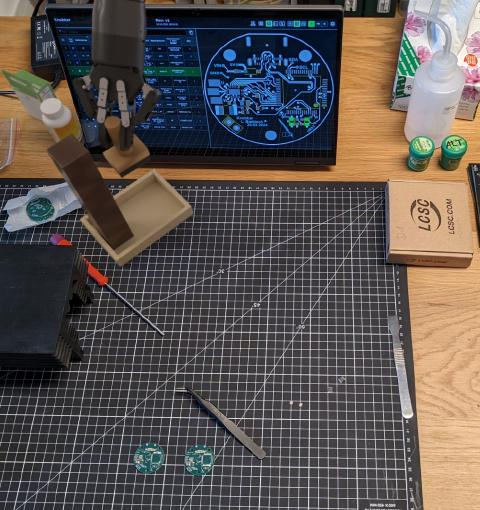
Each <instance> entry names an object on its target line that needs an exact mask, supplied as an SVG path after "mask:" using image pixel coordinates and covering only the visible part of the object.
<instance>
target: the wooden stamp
mask: <svg viewBox="0 0 480 510" xmlns="http://www.w3.org/2000/svg"><path fill="white" fill-rule="evenodd" d="M104 124H105V127H106V129H107V131H108V133H109V135H110V137H111V139H112V144H113V146H111V147H109V148H107V150H105V151H103V152H102V154H103V157H104V158H105V159H106V161H107V162H108V163H109V165H110V166H111V167H112V169H113V170H114V171H115V172H116V173H117V174H118V175H119V176H120V178H121V179H123V178H124V177H126V176H127V175H129V174H130V173H133V172H134V171H135V170H137V169H139V168H140V167H143V165H145V164H147V163H148V162H150V161H151V158H150V154H151V153H150V151H149V149H148V147H147V146H146V145H145V144H144V143H143V142H142V141H141V140H140V138H139V137H138V136H137V135H136V134H135V133H134V141H133V146H132V147H130V149H129V150H127V151H121V150H120V127H122V126H123V125H122V120H121V119H120V117H118V116H116V115H112V116H110V117H108V118H107V119H106V120H105V122H104Z"/></svg>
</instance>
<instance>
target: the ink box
mask: <svg viewBox="0 0 480 510" xmlns="http://www.w3.org/2000/svg"><path fill="white" fill-rule="evenodd" d="M0 72H1V73H2V75H3V76H4V77H5V79H6V80H7V82H8V84H9V85H10V87H11V89H12V90H13V92H14V94H15V95H16V97H17V98H18V100H19V102H20V103H21V105H22V107H23V108H24V110H25V111H26V113H27V115H28V116H30V117H32V118H35V119H37V120H38V121H40V122H43V119H42V115H43V113H42V111H41V109H40V106H41V104H42V102H43V101H45V100H46V99H49V98H57V99H58V97H57V95H56V93H55V90H54V89H53V87H52V85H51V83H50V82H49V81H48V80H45V79H44V78H41V77H39V76H37V75H35V74H32V73H30V72H28V71H26V70H24V69H21V68H20V69H19V70H18V71H17V72H16V73H15V74H14V73H12V72H10V71H7V70H5V69H2V68H0Z"/></svg>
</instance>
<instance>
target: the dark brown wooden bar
mask: <svg viewBox="0 0 480 510" xmlns="http://www.w3.org/2000/svg"><path fill="white" fill-rule="evenodd" d="M45 151H46V153H47V154H48V155H49V158H50V159H51V160H52V162H53V164H54V165H55V167H56V168H57V170H58V172H59V174H60V175H61V176H62V177H63V179H64V181H65V183H66V184H67V185H68V187H69V189H70V190H71V192H72V194H73V195H74V196H75V198H76V200H77V201H78V203H79V204H80V206H81V207H82V209H83V211H84V212H85V215H88V217H89V218H90V220H91V222H92V223H93V225H94V226H95V228H96V229H97V231H98V233H99V234H100V236H101V237H102V238H103V239H104V240H105V241H106V242H107V243H108V245H109V246H110V247H111V248H112V249H113V250H115V249H117V248H118V247H119V246H121V245H122V244H124V243H125V242H126V241H128V240H129V239H131V238H132V237H133V236H134V235H133V233H132V231H131V229H130V227H129V225H128V224H127V222H126V220H125V218H124V216H123V214H122V212H121V211H120V209H119V207H118V205H117V203H116V201H115V199H114V198H113V196H114V195H113V193H112V192H111V190H110V188H109V187H108V185H107V183H106V181H105V179H104V177H103V175H102V173H101V172H100V170H99V168H98V165H97V164H96V162H95V160H94V158H93V156H92V155H91V153H90V151H89V150H88V149H87V148H86V147H85V146H84V145H83V143H82V142H81V140H80V141H79V140H78V139H77V138H76V137H75V136H74V135H73V134H70V135H69V136H67V137H65V138H64V139H62V140H61V141H59V142H57V143H56V142H55V143H54V144H53V145H51V146H50V147H48V148H46V149H45Z"/></svg>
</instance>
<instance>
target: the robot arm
mask: <svg viewBox="0 0 480 510" xmlns="http://www.w3.org/2000/svg"><path fill="white" fill-rule="evenodd" d="M91 16H92V17H91V63H92V64H91V67H90V70H89V72H88V74H87V75H84V76H83V77H75V78H73V79H72V85H73V87H74V89H75V92H76V94H77V96H78V99H79V101H80V103H81V106H82V108H83V111H84V113H85V115H86V116H87V117H88V118H92V119H94V120H95V121H96V122H97V128H98V129H97V141H98V144H100V147H101V148H103V149H110V148H111V147H112V144H113V141H112V139H111V137H110V135H109V133H108V131H107V129H106V127H105V124H104V122H105V120H106V119H107V118H108V117H110V116H113V111H114V108H115V106H116V103H118V109H119V112H120V117H121V123H122V125H123V126H122V127H120V150H121V151H127V150H129V149H130V147H132V146H133V141H134V134H135V127H136V126H139V125H143V124H147V122H148V120H149V118H150V117H151V114H152V113H153V111H154V110H155V108H156V106H157V104H158V103H159V101H160V99H161V97H162V95H163V93H162V90H160V89H156V88H155V87H153V86H151V85H150V84H149V83H148V82H147V78H146V75H145V65H146V64H145V63H146V43H147V41H146V40H147V33H148V27H147V9H146V0H93V5H92V15H91ZM94 88H95V90H96V91H97V93H98V99H97V100H96V97H95V94H94V92H93V89H94ZM141 92H142V99H143V101H142V103H141V104H140V106H139V108H138V110H137V101H136V100H137V99H136V98H137V97H138V96H139V95H140V94H141ZM136 110H137V112H136Z"/></svg>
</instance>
